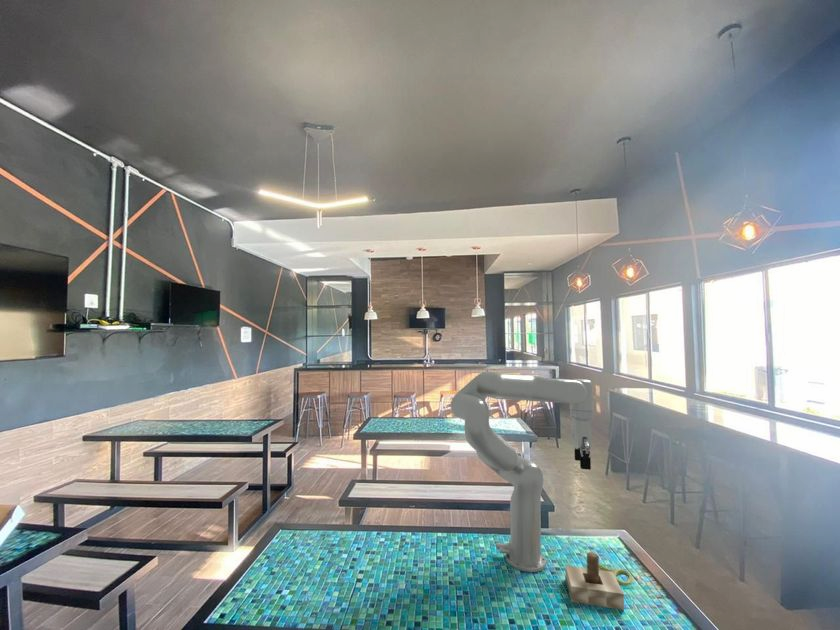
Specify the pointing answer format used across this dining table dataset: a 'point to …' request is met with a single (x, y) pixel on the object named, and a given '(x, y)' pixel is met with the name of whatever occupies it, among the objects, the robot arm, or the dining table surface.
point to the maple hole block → (594, 588)
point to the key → (617, 574)
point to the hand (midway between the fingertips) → (582, 464)
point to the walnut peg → (592, 568)
